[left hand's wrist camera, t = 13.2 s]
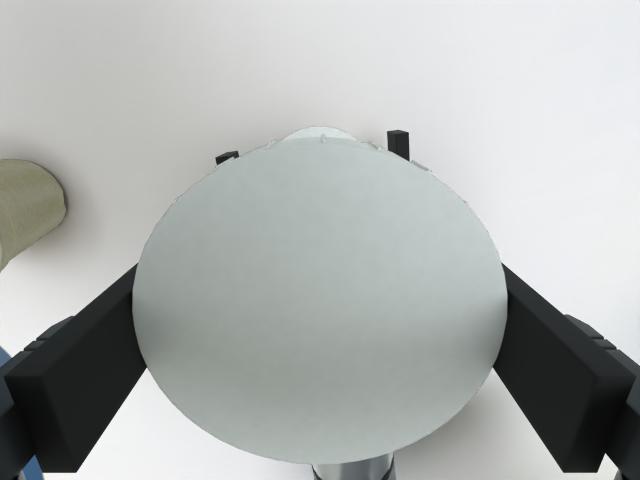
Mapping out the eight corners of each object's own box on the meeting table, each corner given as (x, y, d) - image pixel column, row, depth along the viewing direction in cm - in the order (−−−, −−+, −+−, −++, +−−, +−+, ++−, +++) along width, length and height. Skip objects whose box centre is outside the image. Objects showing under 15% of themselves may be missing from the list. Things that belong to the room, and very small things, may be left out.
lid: (527, 322, 13) (570, 366, 11) (293, 449, 15) (288, 506, 13) (361, 52, 10) (373, 36, 7) (97, 265, 12) (48, 300, 10)
